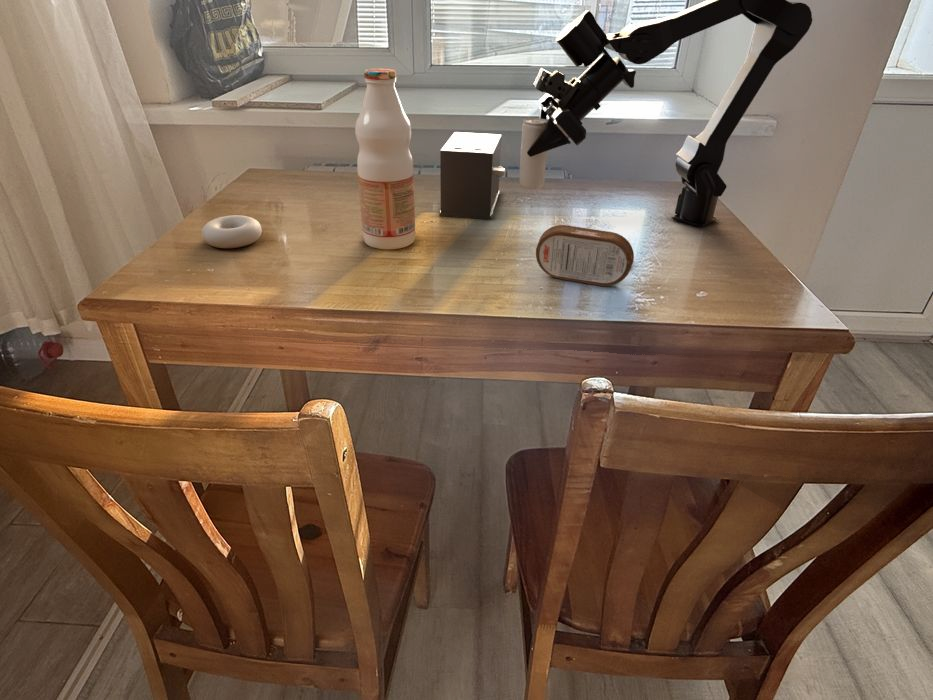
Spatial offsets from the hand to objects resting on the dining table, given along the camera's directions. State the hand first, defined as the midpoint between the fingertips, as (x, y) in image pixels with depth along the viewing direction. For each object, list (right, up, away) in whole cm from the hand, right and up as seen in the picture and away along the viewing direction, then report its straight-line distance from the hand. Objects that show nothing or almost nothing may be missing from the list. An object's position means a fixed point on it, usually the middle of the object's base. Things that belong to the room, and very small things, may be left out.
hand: (526, 151), depth 108 cm
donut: (-53, -18, -5) cm, 56 cm away
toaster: (-10, -6, +14) cm, 19 cm away
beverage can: (+1, -6, +4) cm, 7 cm away
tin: (+7, -26, -16) cm, 31 cm away
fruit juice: (-25, -17, -3) cm, 31 cm away
